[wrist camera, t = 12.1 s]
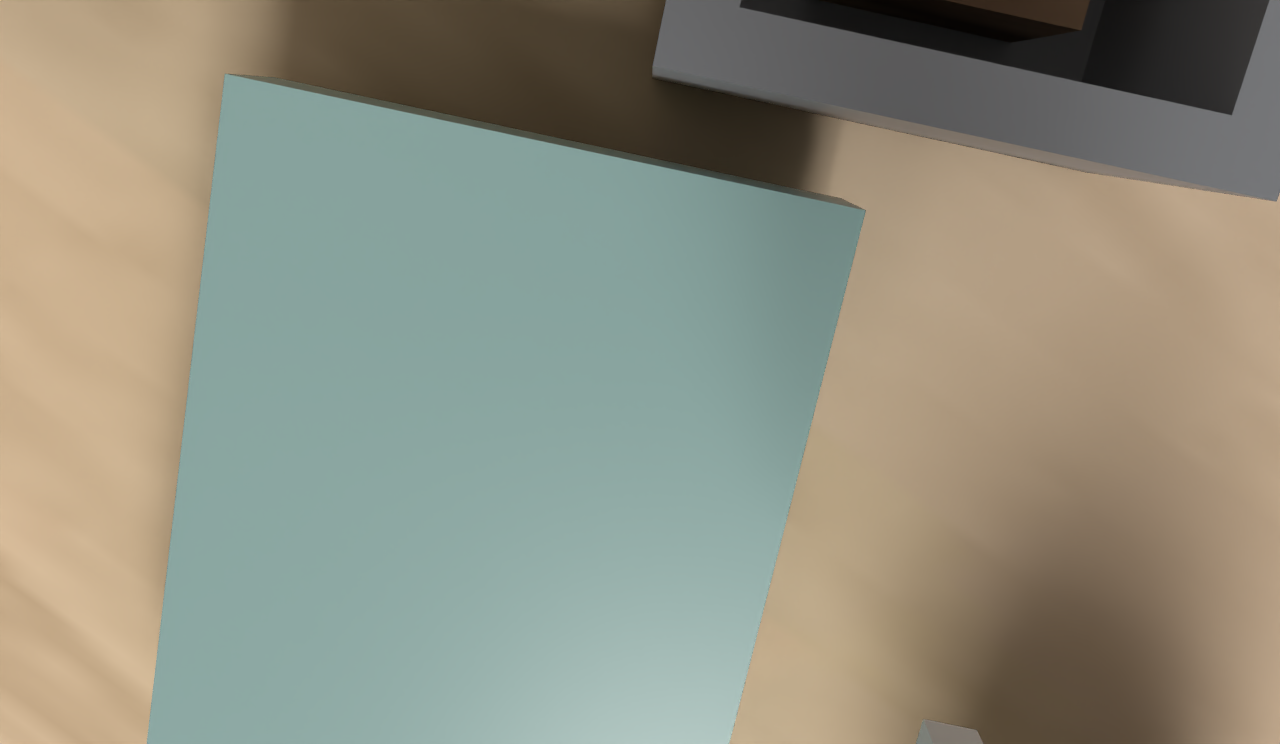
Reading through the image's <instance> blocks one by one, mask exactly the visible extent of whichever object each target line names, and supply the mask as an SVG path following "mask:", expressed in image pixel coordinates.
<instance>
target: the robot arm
mask: <svg viewBox="0 0 1280 744" xmlns="http://www.w3.org/2000/svg"><path fill="white" fill-rule="evenodd" d="M916 744H983V742H982V740H981V738H980V736H979V733H978V731H977V730H974V729H970V728H965V727H960V726H955V725H950V724H946V723H941V722H936V721H931V720H926V719H923V722H922V725H921V728H920V732H919V735H918V738H917V742H916Z"/></svg>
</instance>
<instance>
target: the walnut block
mask: <svg viewBox="0 0 1280 744" xmlns="http://www.w3.org/2000/svg"><path fill="white" fill-rule="evenodd" d="M820 1H825V2H829V3H834V4H838V5H843V6H847V7H852V8H856V9H861V10H865V11H870V12H874V13H879V14H884V15H888V16H893V17H897V18H902V19H906V20H911V21H915V22H920V23H924V24H929V25H933V26H938V27H942V28H947V29H952V30H956V31H961V32H965V33H970V34H974V35H979V36H983V37H988V38H992V39H997V40H1001V41H1006V42H1010V43H1012V42H1018V41H1024V40H1030V39H1035V38H1041V37H1047V36H1052V35H1058V34H1064V33H1069V32H1075V31H1081V29H1082V26H1083V22H1084V19H1085V16H1086V12H1087V9H1088V5H1089V2H1090V0H820Z"/></svg>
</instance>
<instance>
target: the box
mask: <svg viewBox="0 0 1280 744" xmlns="http://www.w3.org/2000/svg"><path fill="white" fill-rule="evenodd" d="M652 78H654V79H658V80H663V81H667V82H672V83H677V84H681V85H686V86H690V87H695V88H700V89H704V90H709V91H714V92H718V93H723V94H727V95H732V96H737V97H741V98H746V99H750V100H755V101H760V102H764V103H769V104H774V105H778V106H783V107H787V108H792V109H797V110H801V111H806V112H810V113H815V114H820V115H824V116H829V117H834V118H838V119H843V120H847V121H852V122H857V123H861V124H866V125H870V126H875V127H880V128H884V129H889V130H894V131H898V132H903V133H907V134H912V135H917V136H921V137H926V138H930V139H935V140H940V141H944V142H949V143H954V144H958V145H963V146H967V147H972V148H977V149H981V150H986V151H990V152H995V153H1000V154H1004V155H1009V156H1014V157H1018V158H1023V159H1027V160H1032V161H1037V162H1041V163H1046V164H1050V165H1055V166H1060V167H1064V168H1069V169H1074V170H1078V171H1083V172H1087V173H1094V174H1101V175H1107V176H1114V177H1120V178H1127V179H1133V180H1140V181H1146V182H1153V183H1159V184H1166V185H1172V186H1179V187H1185V188H1192V189H1198V190H1205V191H1211V192H1218V193H1224V194H1231V195H1237V196H1244V197H1251V198H1257V199H1264V200H1270V201H1277V199H1278V196H1279V193H1280V0H1090V2H1089V5H1088V9H1087V12H1086V16H1085V19H1084V22H1083V26H1082V29H1081V31H1075V32H1069V33H1064V34H1058V35H1052V36H1047V37H1041V38H1035V39H1030V40H1024V41H1018V42H1012V43H1010V42H1006V41H1001V40H997V39H992V38H988V37H983V36H979V35H974V34H970V33H965V32H961V31H956V30H952V29H947V28H942V27H938V26H933V25H929V24H924V23H920V22H915V21H911V20H906V19H902V18H897V17H893V16H888V15H884V14H879V13H874V12H870V11H865V10H861V9H856V8H852V7H847V6H843V5H838V4H834V3H829V2H825V1H820V0H666V3H665V8H664V13H663V17H662V22H661V27H660V32H659V37H658V42H657V47H656V52H655V57H654V61H653V71H652Z"/></svg>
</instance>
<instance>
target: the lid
mask: <svg viewBox="0 0 1280 744" xmlns="http://www.w3.org/2000/svg"><path fill="white" fill-rule="evenodd" d="M865 211H866V210H864V209H862V208H860V207H858V206H856V205H854V204H852V203H850V202H848V201H846V200H844V199H842V198H837V197H832V196H828V195H823V194H818V193H814V192H809V191H804V190H800V189H795V188H790V187H786V186H781V185H776V184H771V183H767V182H762V181H757V180H753V179H748V178H743V177H739V176H734V175H729V174H725V173H720V172H715V171H711V170H706V169H701V168H697V167H692V166H687V165H683V164H678V163H673V162H669V161H664V160H659V159H654V158H650V157H645V156H640V155H636V154H631V153H626V152H622V151H617V150H612V149H608V148H603V147H598V146H594V145H589V144H584V143H580V142H575V141H570V140H566V139H561V138H556V137H552V136H547V135H542V134H537V133H533V132H528V131H523V130H519V129H514V128H509V127H505V126H500V125H495V124H491V123H486V122H481V121H477V120H472V119H467V118H463V117H458V116H453V115H449V114H444V113H439V112H435V111H430V110H425V109H420V108H416V107H411V106H406V105H402V104H397V103H392V102H388V101H383V100H378V99H374V98H369V97H364V96H360V95H355V94H350V93H346V92H341V91H336V90H332V89H327V88H322V87H318V86H313V85H308V84H303V83H299V82H294V81H289V80H285V79H280V78H275V77H263V76H250V75H236V74H225V77H224V86H223V95H222V103H221V112H220V120H219V129H218V137H217V146H216V155H215V163H214V172H213V180H212V189H211V198H210V206H209V215H208V223H207V232H206V240H205V249H204V258H203V266H202V275H201V283H200V292H199V300H198V309H197V318H196V326H195V335H194V343H193V352H192V360H191V369H190V378H189V386H188V395H187V403H186V412H185V420H184V429H183V438H182V446H181V455H180V463H179V472H178V480H177V489H176V498H175V506H174V515H173V523H172V532H171V540H170V549H169V558H168V566H167V575H166V583H165V592H164V600H163V609H162V618H161V626H160V635H159V643H158V652H157V660H156V669H155V678H154V686H153V695H152V703H151V712H150V720H149V729H148V738H147V744H729V743H730V739H731V735H732V731H733V727H734V723H735V719H736V715H737V711H738V707H739V704H740V700H741V696H742V692H743V688H744V684H745V680H746V676H747V672H748V668H749V665H750V661H751V657H752V653H753V649H754V645H755V641H756V637H757V633H758V629H759V625H760V622H761V618H762V614H763V610H764V606H765V602H766V598H767V594H768V590H769V586H770V582H771V579H772V575H773V571H774V567H775V563H776V559H777V555H778V551H779V547H780V543H781V540H782V536H783V532H784V528H785V524H786V520H787V516H788V512H789V508H790V504H791V500H792V497H793V493H794V489H795V485H796V481H797V477H798V473H799V469H800V465H801V461H802V458H803V454H804V450H805V446H806V442H807V438H808V434H809V430H810V426H811V422H812V418H813V415H814V411H815V407H816V403H817V399H818V395H819V391H820V387H821V383H822V379H823V375H824V372H825V368H826V364H827V360H828V356H829V352H830V348H831V344H832V340H833V336H834V333H835V329H836V325H837V321H838V317H839V313H840V309H841V305H842V301H843V297H844V293H845V290H846V286H847V282H848V278H849V274H850V270H851V266H852V262H853V258H854V254H855V251H856V247H857V243H858V239H859V235H860V231H861V227H862V223H863V219H864V215H865Z"/></svg>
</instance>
